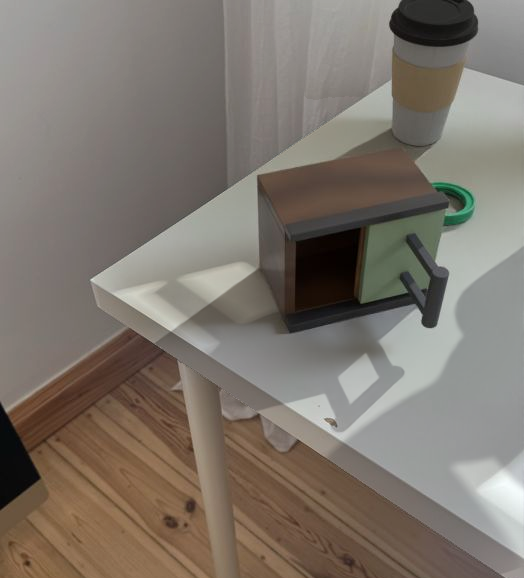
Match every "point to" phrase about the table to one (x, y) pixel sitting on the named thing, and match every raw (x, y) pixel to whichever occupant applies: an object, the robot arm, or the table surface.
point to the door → (405, 263)
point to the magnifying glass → (462, 195)
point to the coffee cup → (428, 64)
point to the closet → (333, 231)
